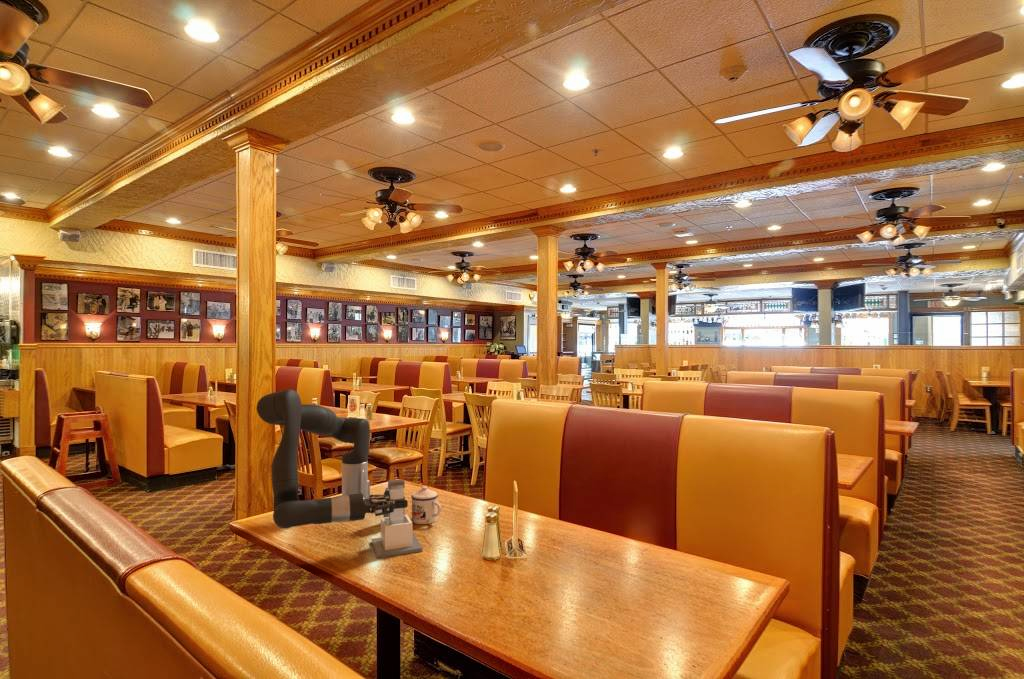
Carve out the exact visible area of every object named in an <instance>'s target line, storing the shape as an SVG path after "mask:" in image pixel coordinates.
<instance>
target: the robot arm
mask: <svg viewBox="0 0 1024 679" xmlns="http://www.w3.org/2000/svg"><path fill="white" fill-rule="evenodd" d="M256 403H257V404H256V413H257V414H258V416H259V418H260V419H261V420H262V421H263V422H265V423H266V424H269V425H273V426H275V425H277V426H283V433H282V437H281V440H280V442H279V445H278V447H277V449H276V451H275V453H274V456H273V458H272V463H271V488H272V493H273V513H272V519H273V522H274V524H275V525H276V526H277V527H279V528H280V529H283V530H285V529H286V530H287V529H290V528H293V527H298V526H306V525H323V524H324V525H325V524H331V523H346V522H354V521H363V520H365V517H366V514H372V515H373V514H374V516H375V517H379V516H384V514H388V513H392V512H394V510H395V509H399V508H404V509H405V508H408V504H409V503H408V500H407V499H406V497H405V496H404V500H399V501H389V495H384V494H371V482H370V481H371V480H369V475H368V474H369V469H368V468H369V467H368V466H369V462H368V460H369V453H370V441H371V440H370V438H371V426H370V423H369V421H368V420H367V419H366V418H357V417H339V416H337V414H336V413H335V412H334V410H332V409H330V408H327V407H324V406H323V405H318V404H311V403H309V404H307V403H306V404H305V403H302V400H301V397H300V394H298V391H296V390H294V389H290V388H289V389H283V390H279V391H276V392H270V393H268V394H265V395H264V396H262V397H261V398H259V400H258V402H256ZM301 431H305V432H307V433H311V434H315V435H319V436H325V437H330V438H333V439H335V440H337V441H339V442H341V443H346V444H354V445H353V449H352V450H350V451H347V452H344V453H343V454H342V455H341V495H337V496H333V497H331V496H330V497H325V498H323V497H322V498H316V499H311V500H310V499H309V500H308V499H306V500H303V499H302V500H300V499H299V491H298V490H299V468H298V467H299V465H298V450H299V440H300V435H301V434H300V432H301ZM389 506H390V508H387V507H389Z"/></svg>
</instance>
